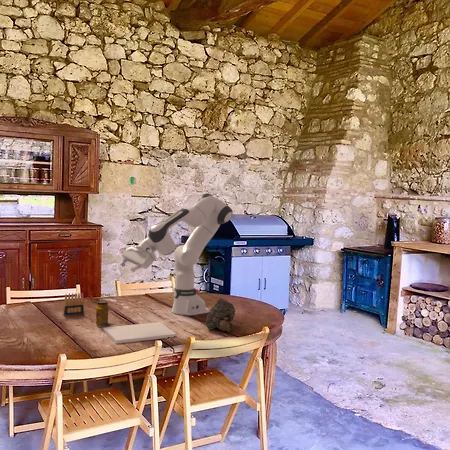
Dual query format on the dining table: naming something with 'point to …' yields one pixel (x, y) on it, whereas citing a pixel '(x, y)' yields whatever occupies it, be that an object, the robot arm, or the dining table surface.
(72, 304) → the ammunition clip
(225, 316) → the rock
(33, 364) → the dining table surface
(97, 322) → the condiment
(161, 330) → the tile board
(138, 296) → the dining table surface
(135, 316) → the dining table surface
